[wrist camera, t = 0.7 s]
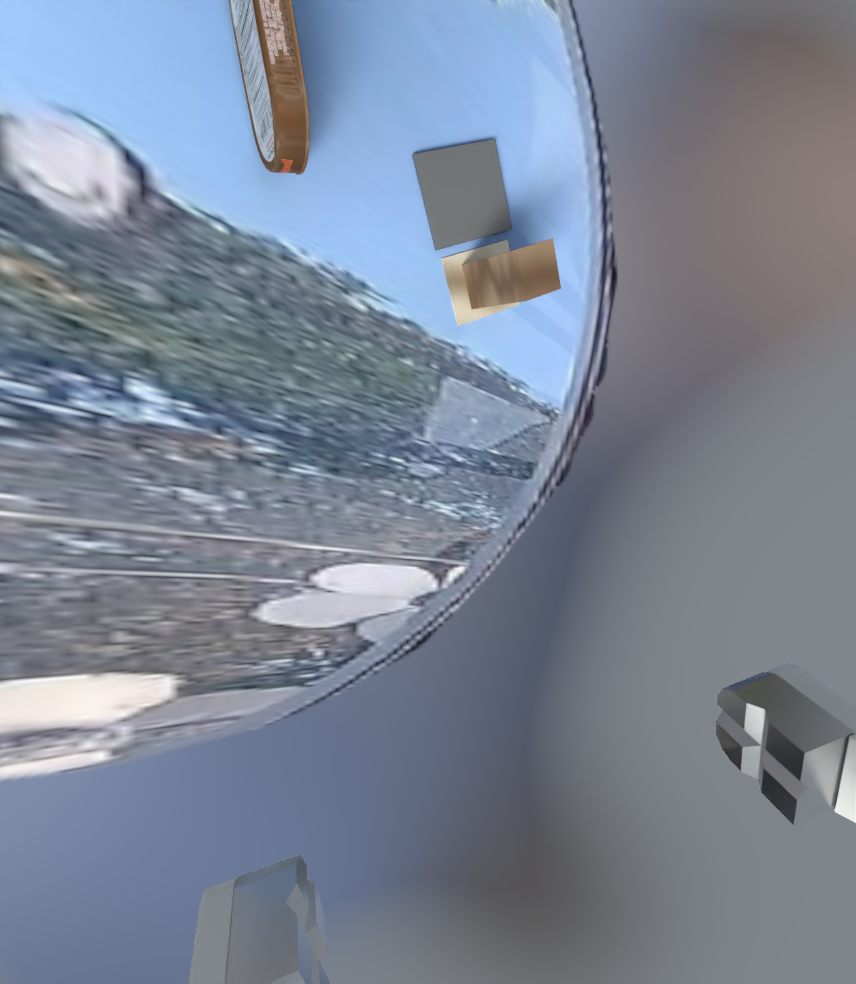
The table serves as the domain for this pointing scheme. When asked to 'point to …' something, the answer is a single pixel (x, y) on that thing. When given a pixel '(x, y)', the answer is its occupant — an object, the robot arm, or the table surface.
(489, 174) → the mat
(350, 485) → the table surface
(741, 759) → the robot arm
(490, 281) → the walnut block
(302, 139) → the tin
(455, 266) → the placard
